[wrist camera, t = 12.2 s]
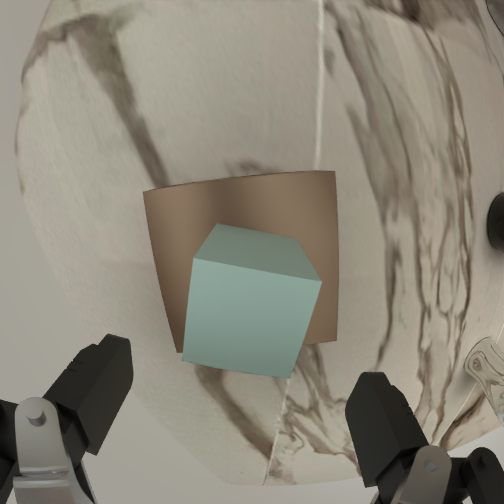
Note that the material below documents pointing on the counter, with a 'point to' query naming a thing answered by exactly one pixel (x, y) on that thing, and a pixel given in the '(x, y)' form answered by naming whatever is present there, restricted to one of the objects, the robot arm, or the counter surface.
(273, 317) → the sage block
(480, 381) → the beer glass
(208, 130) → the counter surface
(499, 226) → the supplement bottle
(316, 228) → the walnut base
